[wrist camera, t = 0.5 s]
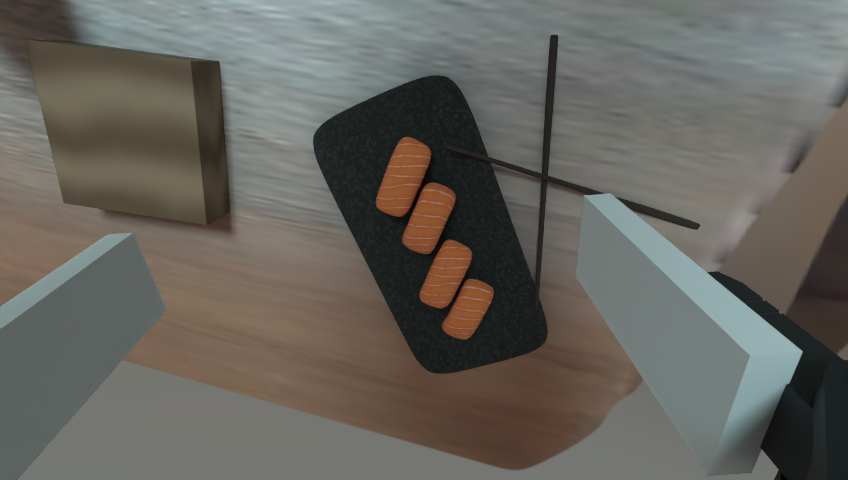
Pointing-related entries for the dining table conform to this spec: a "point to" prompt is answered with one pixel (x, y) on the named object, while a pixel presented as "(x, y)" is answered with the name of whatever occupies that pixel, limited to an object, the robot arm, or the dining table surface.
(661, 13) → the dining table surface
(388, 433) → the dining table surface
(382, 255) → the sushi plate
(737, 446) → the robot arm
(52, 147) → the walnut base
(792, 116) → the dining table surface
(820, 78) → the dining table surface
